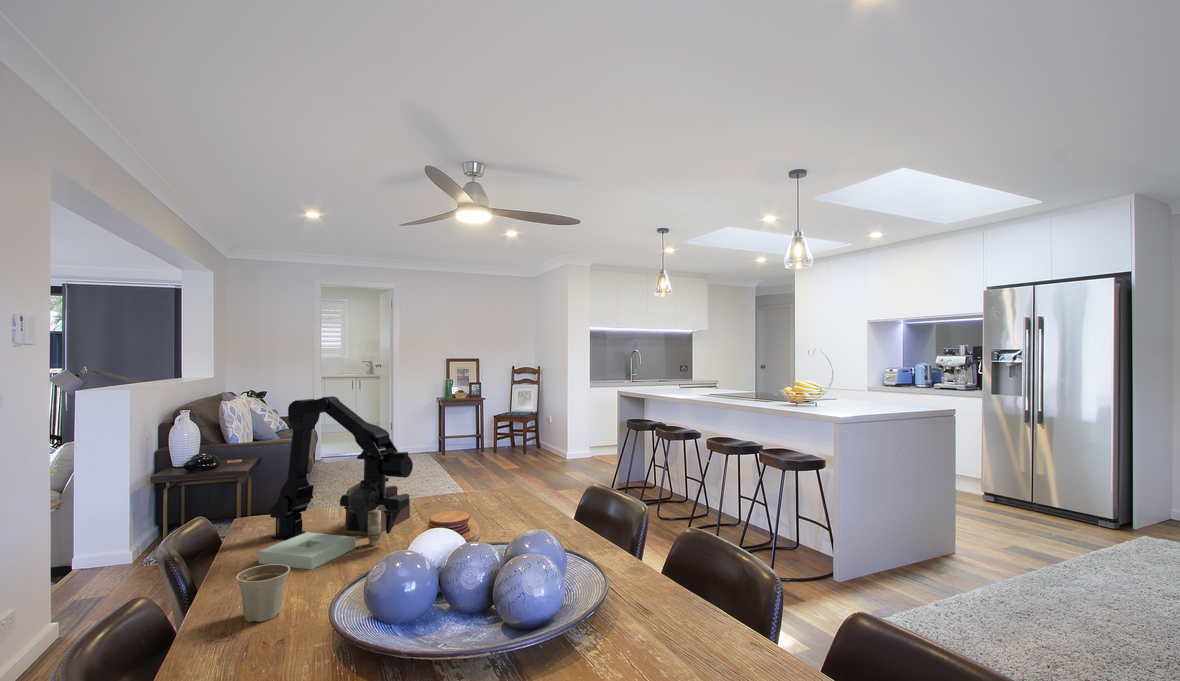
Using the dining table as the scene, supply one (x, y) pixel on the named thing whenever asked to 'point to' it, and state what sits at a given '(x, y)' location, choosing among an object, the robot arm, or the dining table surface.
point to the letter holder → (392, 491)
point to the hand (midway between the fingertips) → (374, 532)
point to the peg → (374, 527)
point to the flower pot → (262, 591)
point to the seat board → (307, 550)
